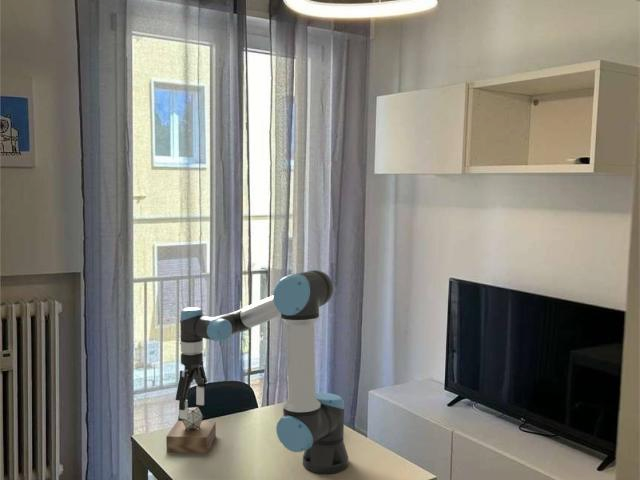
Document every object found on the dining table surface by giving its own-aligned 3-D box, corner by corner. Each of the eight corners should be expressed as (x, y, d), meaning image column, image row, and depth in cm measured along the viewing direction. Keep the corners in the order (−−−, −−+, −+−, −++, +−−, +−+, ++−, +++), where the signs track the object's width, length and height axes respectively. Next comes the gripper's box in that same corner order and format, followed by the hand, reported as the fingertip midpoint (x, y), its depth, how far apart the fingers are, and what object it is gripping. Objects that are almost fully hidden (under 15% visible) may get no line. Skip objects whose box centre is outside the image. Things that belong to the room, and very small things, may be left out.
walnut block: (215, 437, 223) (215, 421, 222) (207, 454, 209) (207, 437, 208) (177, 436, 223) (177, 420, 223) (166, 453, 209) (166, 436, 209)
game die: (195, 440, 214) (196, 425, 208) (174, 430, 216) (175, 414, 209) (208, 421, 221) (210, 405, 214) (188, 410, 223) (189, 395, 216)
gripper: (197, 342, 226) (197, 398, 228) (164, 361, 202) (165, 423, 204) (215, 344, 224) (216, 400, 226) (185, 362, 200) (186, 425, 202)
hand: (192, 411), depth 215 cm, fingers open, 13 cm apart
